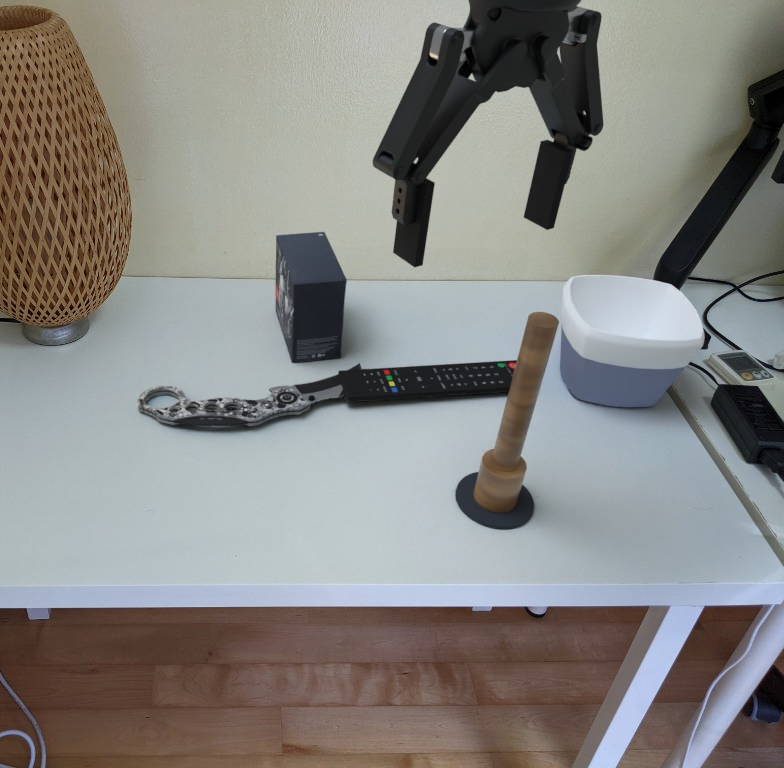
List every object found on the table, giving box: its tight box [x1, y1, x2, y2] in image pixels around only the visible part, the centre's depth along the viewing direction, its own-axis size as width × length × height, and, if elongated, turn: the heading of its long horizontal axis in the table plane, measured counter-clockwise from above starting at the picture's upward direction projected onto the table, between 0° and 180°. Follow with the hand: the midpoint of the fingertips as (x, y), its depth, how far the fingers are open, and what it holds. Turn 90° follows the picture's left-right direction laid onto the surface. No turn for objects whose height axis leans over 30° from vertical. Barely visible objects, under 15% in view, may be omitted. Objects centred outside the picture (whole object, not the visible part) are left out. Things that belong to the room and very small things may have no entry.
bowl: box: [559, 274, 706, 408], centre depth 94 cm, size 15×15×11 cm
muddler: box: [474, 311, 560, 513], centre depth 74 cm, size 4×4×22 cm
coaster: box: [454, 471, 535, 530], centre depth 81 cm, size 8×8×1 cm
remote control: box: [337, 359, 517, 403], centre depth 95 cm, size 5×24×1 cm, turn 98°
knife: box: [136, 362, 362, 427], centre depth 93 cm, size 28×2×10 cm
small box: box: [275, 231, 348, 363], centre depth 101 cm, size 13×7×12 cm, turn 10°
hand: (475, 240), depth 62 cm, fingers open, 13 cm apart
